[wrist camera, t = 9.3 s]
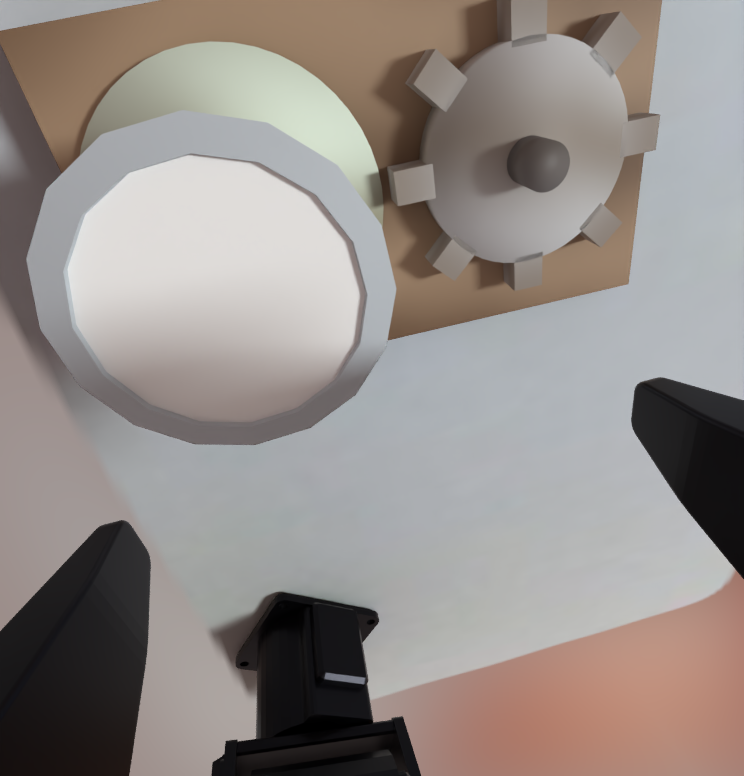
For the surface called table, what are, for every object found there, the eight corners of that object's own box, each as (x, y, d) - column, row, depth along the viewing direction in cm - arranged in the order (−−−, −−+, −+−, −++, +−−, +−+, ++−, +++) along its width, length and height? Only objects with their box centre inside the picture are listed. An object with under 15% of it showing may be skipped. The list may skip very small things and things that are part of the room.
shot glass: (357, 310, 18) (400, 427, 12) (156, 333, 17) (99, 471, 11) (341, 84, 14) (393, 96, 8) (84, 100, 14) (-54, 125, 8)
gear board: (606, 271, 21) (665, 306, 18) (171, 371, 20) (154, 427, 17) (639, -85, 15) (736, -124, 12) (18, 34, 14) (-52, 25, 11)
